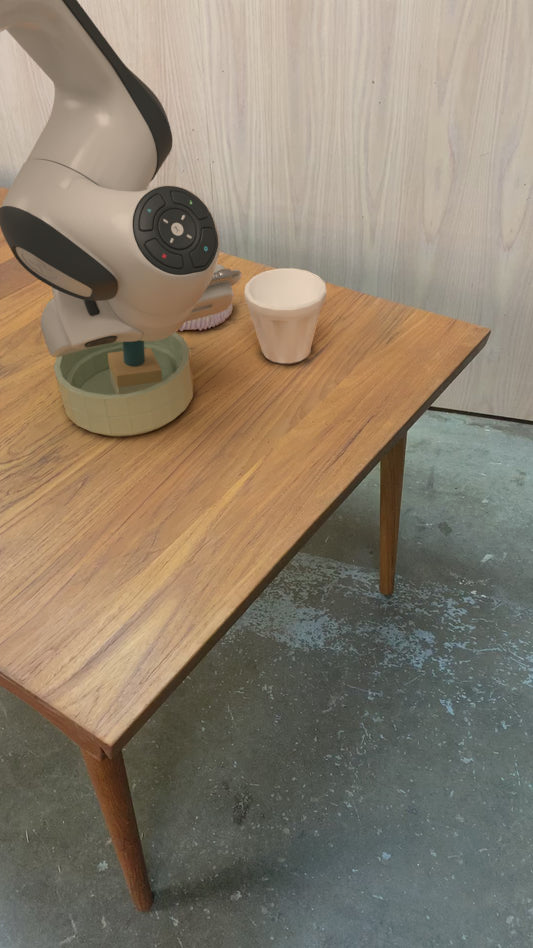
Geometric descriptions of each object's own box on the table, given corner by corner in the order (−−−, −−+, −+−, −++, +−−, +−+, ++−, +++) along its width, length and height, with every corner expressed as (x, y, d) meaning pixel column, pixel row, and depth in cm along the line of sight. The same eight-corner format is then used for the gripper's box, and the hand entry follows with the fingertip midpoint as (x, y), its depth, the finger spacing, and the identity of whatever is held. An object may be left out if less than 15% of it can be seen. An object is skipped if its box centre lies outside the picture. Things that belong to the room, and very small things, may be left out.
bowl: (77, 454, 86) (66, 411, 82) (55, 379, 97) (44, 338, 93) (210, 420, 90) (205, 378, 86) (174, 352, 101) (169, 311, 97)
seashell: (245, 279, 108) (214, 299, 100) (243, 317, 111) (212, 339, 103) (179, 266, 111) (144, 285, 103) (178, 303, 114) (144, 324, 106)
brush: (118, 405, 90) (112, 294, 82) (109, 381, 94) (102, 273, 85) (162, 399, 92) (160, 289, 83) (151, 376, 96) (148, 269, 87)
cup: (277, 323, 105) (275, 260, 99) (340, 345, 101) (342, 280, 94) (232, 358, 99) (227, 293, 93) (297, 384, 95) (296, 317, 89)
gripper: (235, 238, 79) (206, 282, 92) (35, 287, 73) (35, 327, 86) (256, 297, 79) (224, 333, 92) (57, 351, 73) (53, 381, 86)
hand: (131, 330), depth 89 cm, fingers closed on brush, 3 cm apart
